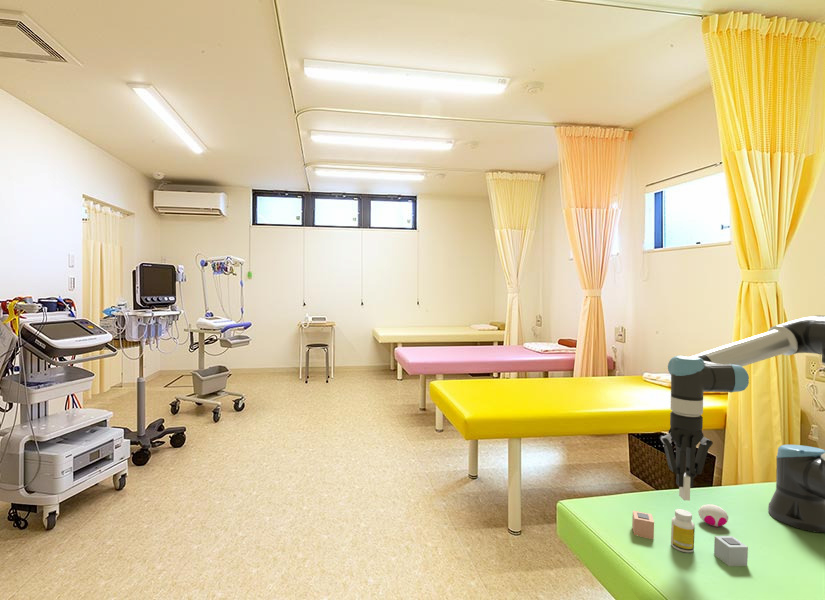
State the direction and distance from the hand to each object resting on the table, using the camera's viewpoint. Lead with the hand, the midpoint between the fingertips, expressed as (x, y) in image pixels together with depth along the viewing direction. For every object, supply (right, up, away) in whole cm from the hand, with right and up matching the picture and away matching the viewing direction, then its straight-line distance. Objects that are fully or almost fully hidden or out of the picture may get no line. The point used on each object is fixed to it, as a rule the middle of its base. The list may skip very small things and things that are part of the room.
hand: (684, 498), depth 118 cm
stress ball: (+17, -14, +12) cm, 25 cm away
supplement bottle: (-1, -14, 0) cm, 14 cm away
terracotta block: (-8, -14, +7) cm, 17 cm away
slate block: (+9, -14, -5) cm, 17 cm away
